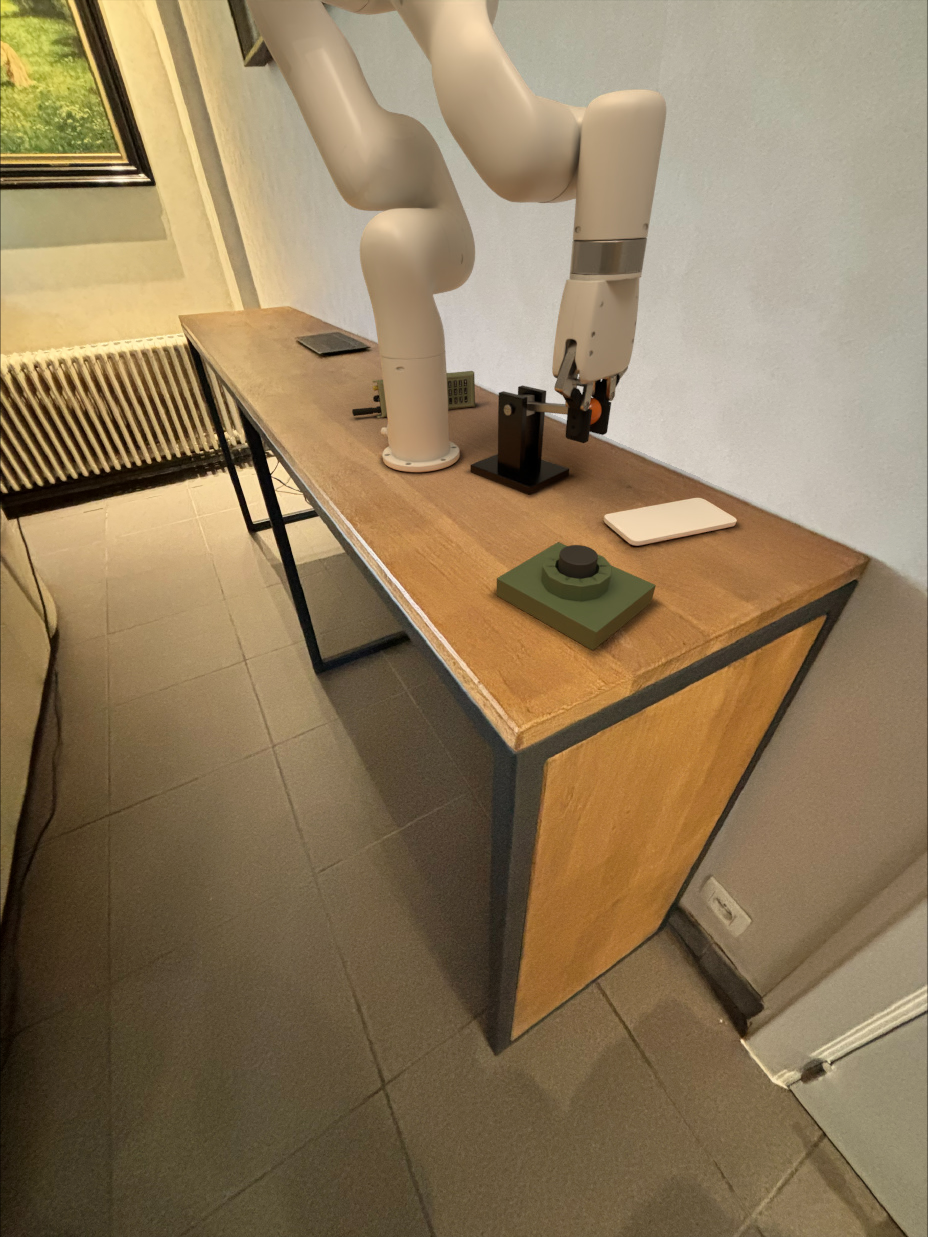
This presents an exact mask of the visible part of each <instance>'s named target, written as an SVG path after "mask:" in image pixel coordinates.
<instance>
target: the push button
mask: <svg viewBox="0 0 928 1237" xmlns="http://www.w3.org/2000/svg"><path fill="white" fill-rule="evenodd" d="M566 546H567V547H564V548H563V549H562V550H561V551H560V554H559V563H558V570H559V572H560V573H561V574H563V575H565V576H567V577H570V578H577V579H583V578H589V577H592V576H593V575H594V574H595V572H596V566H597V560H598V555H599V554H598V553H597V551H596V550H595V549H593V548H592V547H590V546H587V545H581V544H572V545H566Z"/></svg>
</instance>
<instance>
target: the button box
mask: <svg viewBox="0 0 928 1237" xmlns="http://www.w3.org/2000/svg"><path fill="white" fill-rule="evenodd" d="M567 546H568V545H567V544H564V543H562V542H560V541H557V542H555V543H554V544H552V545H551V546H549V547H547V548H545V549H544V550H542V551H540V552H539V553H537V554H534V555H533V556H532V557H530V558H529V559H527V560H525V561H524V562H522V563H520V564H518V565H516V566H515V567H513V568H512V569H509V570H508V571H506V572H505V573H503V574H501V575H500V576H497V577H496V592H495V594H496V595H495V596H497V597H499V598H500V599H501V600H503V601H505V602H507V603H508V604H511V605H512V606H514V607H516V608H518V609H519V610H521V611H523V612H524V613H526V614H528V615H530V616H532V617H533V618H536V620H539V621H541V622H542V623H544V624H545V625H547V626H549V627H551V628H553V629H555V630H556V631H558V632H559V633H562V634H563V635H565V636H566V637H568V638H570V639H572V640H573V641H575V642H577V643H579V644H581V645H583V646H584V647H586V648H588V649H590V650H591V651H594V650H595V649H597V648H598V647H599V646H600V645H602V644H603V643H604V642H605V641H607V640H608V639H609V638H610V637H612V635H614V634H615V633H616V632H617V631H619V630H620V629H622V627H624V626H625V625H627V623H629V622H630V621H631V620H632V619H634V617H636V616H637V615H638V614H639V613H641V612H642V611H643V610H644V609H646V608H647V607H648V606H649V605H650V604H652V603H653V602H652V601H653V598H654V594H655V591H656V584H654V583H652V582H650V581H648V580H646V579H643V578H641V577H639V576H636V575H634V574H632V573H629V572H627V571H625V570H623V569H620V568H619V567H616V566H614V565H612V564H611V563H610V562H609V561H608V560H607V559H606V558H605V557H604V556H603V555H601V554H598V560H597V566H596V572H595V574H594V575H593V576H592V577H589V578H583V579H577V578H570V577H567V576H565V575H563V574H561V573H560V572H559V570H558V563H559V554H560V551H561V550H562V549H563V548H564V547H567Z"/></svg>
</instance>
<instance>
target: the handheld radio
mask: <svg viewBox="0 0 928 1237" xmlns="http://www.w3.org/2000/svg"><path fill="white" fill-rule="evenodd" d="M446 373H447V395H448V411H450V410H459V409H467V408H475V407H476V390H475V389H476V387H475V385H476V384H475V382H476V381H475V379H476V378H475V371H473V370H465V371H455V372H446ZM371 382H372V383H376V384H377V385H373V386H372V390H373V392H376V391H377V392H378V394H376V395H373V397H372V400H373V402H374V403H379V405H378V406H376V407H373V406H372V407H362V408H352V411H351V414H352V415H353V417H357V416H358V417H360V416H368V415H373V414H377V415H376V418H377V419H381V418H387V410H386V402H385V393H384V385H383V378H382V379H374V380H373V379H372V380H371Z"/></svg>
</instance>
